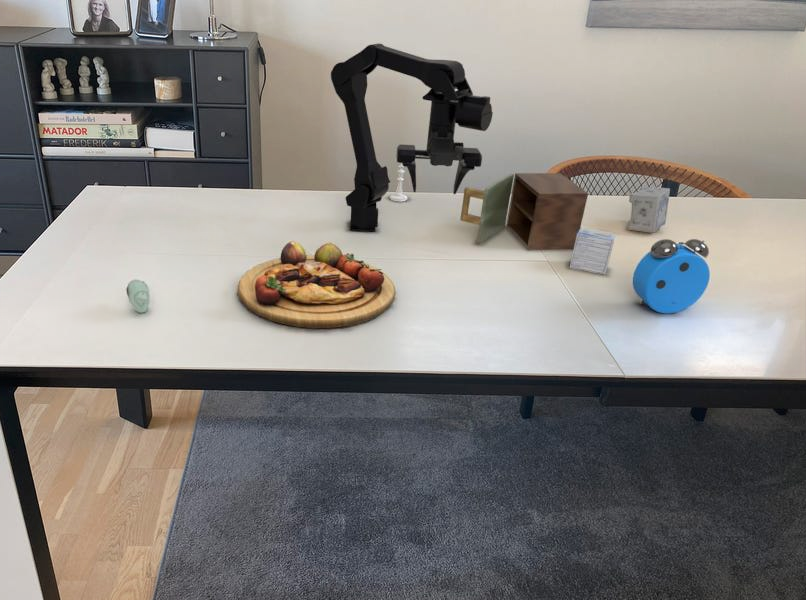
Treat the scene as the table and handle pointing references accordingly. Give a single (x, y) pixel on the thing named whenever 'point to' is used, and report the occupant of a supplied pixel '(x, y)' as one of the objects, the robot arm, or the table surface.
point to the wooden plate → (316, 288)
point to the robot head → (138, 295)
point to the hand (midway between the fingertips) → (434, 192)
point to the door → (489, 207)
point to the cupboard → (546, 211)
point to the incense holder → (648, 209)
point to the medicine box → (592, 250)
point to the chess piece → (399, 187)
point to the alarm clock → (672, 275)
